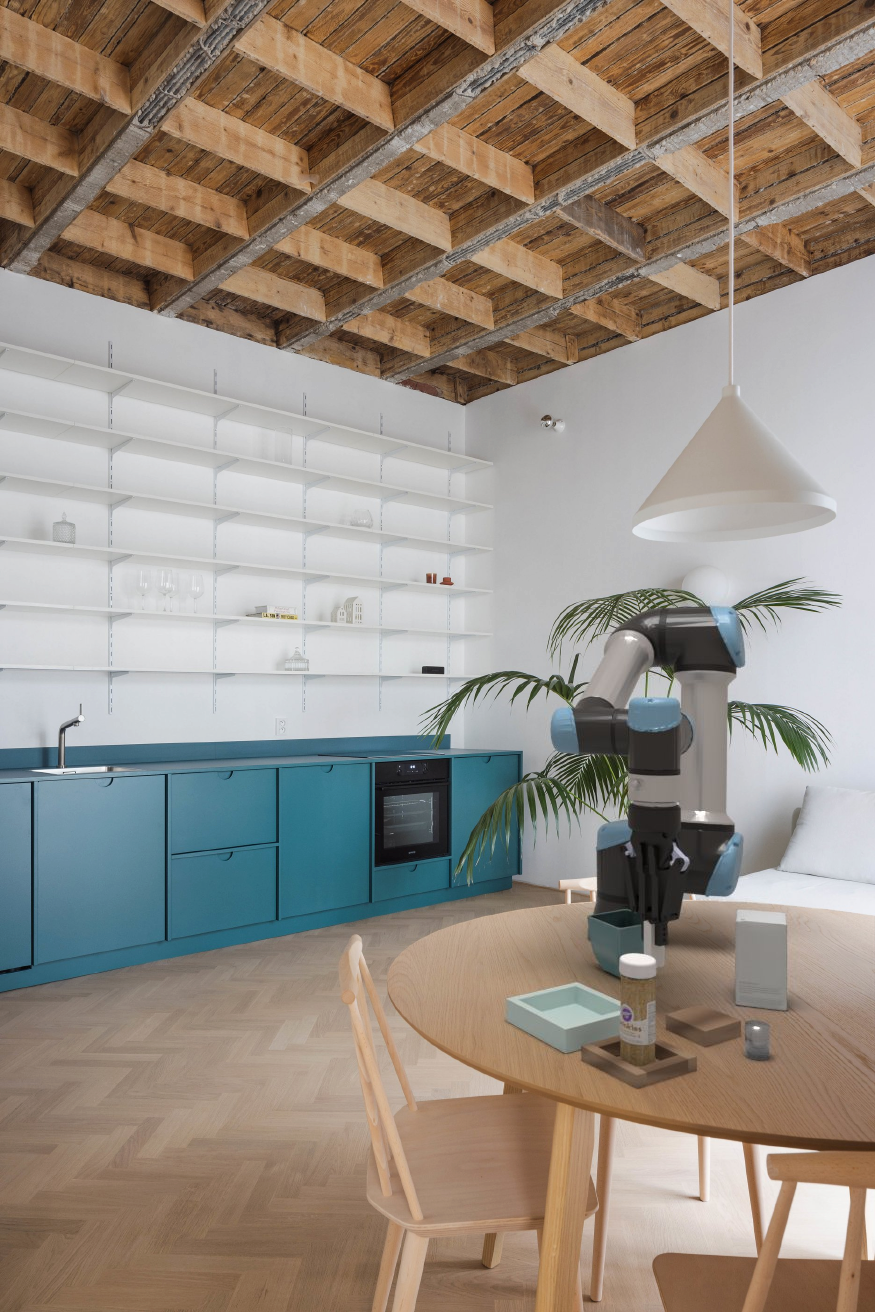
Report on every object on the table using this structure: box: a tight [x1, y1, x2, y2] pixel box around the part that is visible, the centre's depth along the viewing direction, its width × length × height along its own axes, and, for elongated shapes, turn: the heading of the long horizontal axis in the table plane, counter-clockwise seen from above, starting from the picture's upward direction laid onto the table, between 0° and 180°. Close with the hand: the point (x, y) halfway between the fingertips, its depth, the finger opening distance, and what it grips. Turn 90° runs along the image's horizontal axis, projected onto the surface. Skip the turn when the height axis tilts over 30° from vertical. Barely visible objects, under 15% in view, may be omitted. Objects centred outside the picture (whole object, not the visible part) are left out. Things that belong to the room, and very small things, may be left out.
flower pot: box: [586, 909, 644, 979], centre depth 148 cm, size 9×9×9 cm
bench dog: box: [744, 1019, 771, 1062], centre depth 116 cm, size 3×3×4 cm
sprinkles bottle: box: [619, 953, 657, 1068], centre depth 113 cm, size 5×5×14 cm
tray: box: [505, 982, 621, 1055], centre depth 126 cm, size 13×13×3 cm
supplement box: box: [734, 909, 788, 1012], centre depth 136 cm, size 7×7×13 cm
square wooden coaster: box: [665, 1003, 742, 1048], centre depth 124 cm, size 7×7×2 cm
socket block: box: [580, 1035, 698, 1089], centre depth 113 cm, size 10×10×2 cm
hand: (654, 966), depth 131 cm, fingers closed
